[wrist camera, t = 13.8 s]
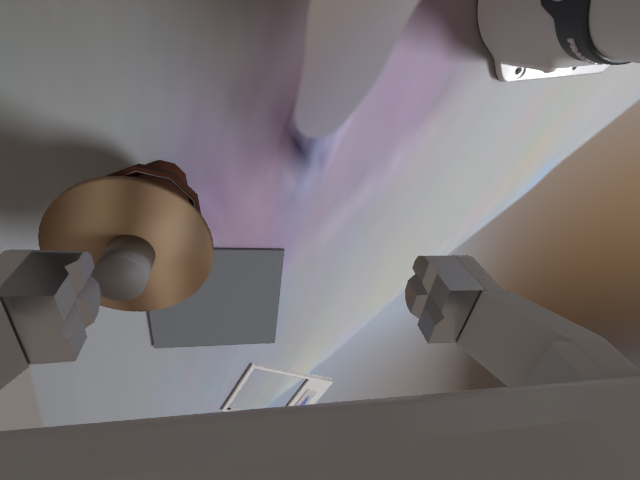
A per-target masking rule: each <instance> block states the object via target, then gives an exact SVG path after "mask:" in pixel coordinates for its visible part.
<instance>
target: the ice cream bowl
mask: <svg viewBox="0 0 640 480" xmlns="http://www.w3.org/2000/svg"><path fill="white" fill-rule="evenodd" d="M107 176H128V177H136V178H140V179H145V180H149V181H152V182H155V183H158V184H160V185H162V186H165V187H167V188H169V189H171V190H172V191H174V192H176V193H178V194H179V195H181V196H182V197H183V198H185V199H186V200H187V201H188V202H189V203H191V204H192V205H193V206H194V207H195V208H196V209H197V211H198V212H199V213H200V214H201V212H200V206H199V200H198V196H197V194H196V193H195V192H194V191H193V190H192V189H191V188H190V187H189V186H188V185H187V180H186V175H185V173H184V172H183V171H182V170H181V169H180V168H179V167H178V166H177V165H176V164H174V163H170V162H166V161H161V160H159V161H156V162H153V163H150V164H147V165H142V164H137V165H134V166H131V167H129V168H126V169H123V170H120V171H117V172H114V173H112V174H109V175H107Z"/></svg>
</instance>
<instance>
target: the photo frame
mask: <svg viewBox="0 0 640 480" xmlns="http://www.w3.org/2000/svg"><path fill="white" fill-rule="evenodd" d="M254 368H257V369H261V370H266V371H271V372H276V373H281V374H286V375H291V376H296V377H300V378H305V379H306V380H305V381H304V382H303V383H302V385H301V386H300V387H299V389H298V390H297V391H296V392H295V394H294V395H293V396H292V398H291V399H290V400H289V402H288V403H287V404H286V406H296V405H308V404H315V403H316V402H317V401H318V400H319V398H320V397H321V396H322V395H323V394H324V392H325V391H326V390H327V389H328V387H329V386H330V385H331V384H332V383H333V380H332V378H329V377H324V376H320V375H315V374H310V373H308V374H302V373H298V372H293V371H288V370H284V369H279V368H274V367H269V366H265V365H260V364H255V363H252V364H251V366H250V367H249V369H248V370H247V372H246V373H245V375H244V376H243V378H242V379H241V381H240V382H239V384H238V385H237V387H236V388H235V390H234V391H233V393H232V394H231V396H230V397H229V399H228V400H227V402H226V403H225V405H224V406H223V408H222V411H225V412H227V411H239V410H241V409H235V408H231V410H228V409H227V408H228V406H229V405H230V403H231V402H232V400H233V399H234V397H235V396H236V395H237V393H238V392H239V390H240V389H241V387H242V386H243V384H244V383H245V381H246V380H247V378H248V377H249V375H250V374H251V372H252V371H253V369H254Z"/></svg>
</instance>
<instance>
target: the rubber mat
mask: <svg viewBox="0 0 640 480" xmlns="http://www.w3.org/2000/svg"><path fill="white" fill-rule="evenodd" d="M283 257H284V249H264V248H214V249H213V262H212V266H211V270H210V273H209V275H208V277H207V279H206V281H205V282H204V284H203V285H202V286H201V287H200V288H199V289H198V290H197V291H196V292H195V293H194V294H193V295H192V296H190V297H189V298H187V299H186V300H184V301H182V302H180V303H178V304H175V305H173V306H170V307H167V308H163V309H158V310H153V311H149V316H150V322H151V329H152V335H153V342H154V348H172V347H194V346H216V345H237V344H259V343H275V334H276V325H277V315H278V305H279V296H280V286H281V276H282V267H283Z"/></svg>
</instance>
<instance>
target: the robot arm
mask: <svg viewBox="0 0 640 480" xmlns="http://www.w3.org/2000/svg"><path fill="white" fill-rule="evenodd" d="M478 24H479V30H480V33H481V36H482V39H483V41H484V43H485V45H486V46H487V48H488V49H489V51H490V52H491V54H492V56H493V58H494V61H495V69H496V74H497V77H498V79H499V80H500V81H504V82H512V81H523V80H533V79H543V78H554V77H564V76H574V75H585V74H595V73H600V72H603V71H604V70H605V69H606V68H608V67H609V66H610V65H620V64H627V63H630V62H634V63H640V0H478ZM517 68H518V71H517V72H516V73H515V71H516V69H517ZM94 267H95V266H94V262H93V259H92V255H91V254H90V253H88V252H87V251H57V250H7V251H4V252H2V253H1V254H0V389H2V388H3V387H4V386H6V385H7V384H8V383H9V382H10V381H12V380H13V379H14V378H16V377H17V376H18V375H19V374H21V373H22V372H23V371H24V370H26V369H27V368H28V367H29V365H30V364H43V363H57V362H70V361H76V359H77V357H78V355H79V353H80V351H81V349H82V347H83V344H84V342H85V340H86V338H87V335H86V331H85V328H86V327H88V326H89V325H91V324H92V323H94V321H95V319H96V317H97V315H98V312H99V307H100V302H101V296H100V287H99V283H98V282H97V281H96V280H95V279H94V278H93V277H91V276H90V275H91V273H92V271H93V269H94ZM413 270H414V272H415V275H414V276H413V277H412V278H410V279H409V280H408V283H407V286H406V289H405V298H406V303H407V307H408V309H409V310H410V312H411V313H412V314H413V315H415V316H416V317H417V318H419V321H418V327H419V328H420V330H421V332H422V334H423V335H424V337H425V339H426V341H427V342H428V343H457V345H458V346H459V347H460V348H462V349H463V350H464V351H465V352H467V353H468V354H469V355H470V356H471V357H473V358H474V359H475V360H476V361H477V362H479V363H480V364H481V365H483V366H484V367H485V368H486V369H487V370H489V371H490V372H491V373H492V374H493V375H495V376H496V377H497V378H498V379H500V380H501V381H502V382H503V383H505V384H506V385H507V386H508V387H504V388H492V389H481V390H469V391H459V392H446V393H436V394H423V395H411V396H400V397H389V398H378V399H365V400H354V401H342V402H332V403H319V404H308V405H296V406H285V407H273V408H262V409H250V410H239V411H227V412H216V413H204V414H193V415H181V416H170V417H158V418H147V419H135V420H124V421H112V422H101V423H89V424H78V425H66V426H55V427H43V428H32V429H20V430H9V431H0V480H640V371H639V370H638V369H637V368H636V367H635V366H634V365H633V364H632V363H631V362H629V361H628V360H627V359H626V358H625V357H624V356H623V355H622V354H620V352H618V351H617V350H616V349H615V348H614V347H613V346H612V345H611V344H610V343H608V342H607V341H606V340H605V339H604V338H603V337H601V336H599V335H597V334H595V333H593V332H591V331H589V330H587V329H585V328H583V327H581V326H579V325H577V324H574V323H573V322H571V321H569V320H567V319H565V318H563V317H561V316H559V315H557V314H555V313H553V312H551V311H549V310H547V309H545V308H543V307H541V306H539V305H537V304H535V303H533V302H531V301H529V300H527V299H525V298H523V297H521V296H519V295H517V294H515V293H513V292H511V291H509V290H507V291H505V290H503V289H502V287H501V286H500V285H499V284H498V283H497V282H496V281H495V280H494V279H493V278H492V277H491V276H490V275H489V274H488V273H487V272H486V271H485V269H483V267H482V266H481V265H480V264H479V263H478V262H477V261H476V260H475V259H474V258H473V257H471V256H469V255H451V256H418V257H417V259H416V260H415V262H414V265H413Z"/></svg>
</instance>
